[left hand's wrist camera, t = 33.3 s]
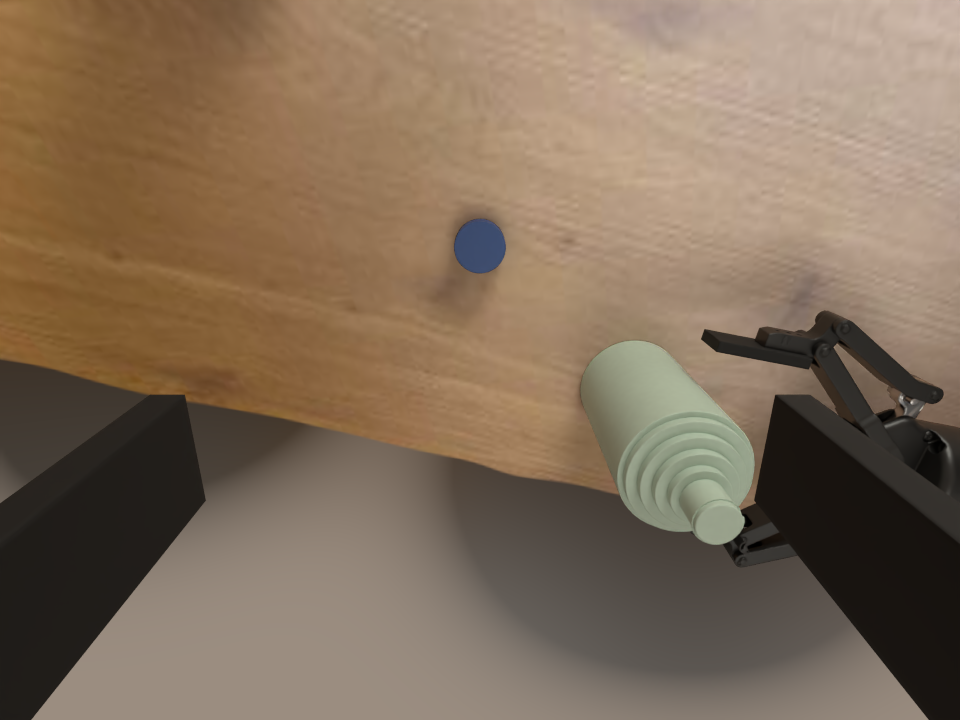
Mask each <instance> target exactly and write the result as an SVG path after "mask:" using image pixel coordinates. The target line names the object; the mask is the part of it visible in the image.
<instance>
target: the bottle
mask: <svg viewBox="0 0 960 720" xmlns="http://www.w3.org/2000/svg"><path fill="white" fill-rule="evenodd" d="M580 394H581V400H582V404H583V407H584V409H585V412H586V414H587V416H588V419H589V421H590V424H591V426H592V428H593V431H594V433H595V436H596V438H597V441H598V443H599V445H600V448H601V450H602V453H603V455H604V458H605V460H606V462H607V465H608V467H609V470H610V472H611V474H612V477H613V479H614V482H615V484H616V487H617V489H618V491H619V494H620V496H621V498H622V500H623V502H624V504H625V505H626V507H627V508H628V509H629V510H630V511H631V512H632V513H633V514H634V515H635V516H636V517H638V518H639V519H640V520H642V521H644V522H646V523H648V524H650V525H653V526H655V527H658V528H661V529H664V530H668V531H676V532H686V531H693V533H694V534H695V536H696V537H697V538H698V539H700V540H701V541H703V542H706V543H708V544H713V545H719V544H724V543H727V542H729V541H731V540H733V539H734V538H735V537H736V536H737V535H738V534H740V532H741V530H742V529H743V526H744V523H745V520H744V516H742V514H741V511H740V508H739V507H738V506H739V505H740V504H741V503H742V501H743V500H744V499H745V497H746V495H747V493H748V492H749V489H750V487H751V484H752V479H753V473H754V463H755V462H754V453H753V449H752V446H751V444H750V441H749V439H748V438H747V436H746V435H745V433H744V432H743V431H742V430H741V429H740V428H739V427H738V426H737V424H736V423H735V422H734V421H733V420H732V419H731V418H730V417H729V416H728V415H727V414H726V413H725V412H724V411H723V410H722V409H721V408H720V407H719V406H718V405H717V404H716V402H715V401H714V400H713V399H712V398H711V397H710V396H709V395H708V394H707V393H706V392H705V391H704V390H703V389H702V388H701V387H700V386H699V385H698V384H697V383H696V382H695V381H694V379H693V378H692V377H691V376H690V375H689V374H688V373H687V372H686V371H685V370H684V369H683V368H682V367H681V366H680V365H679V364H678V363H677V362H676V361H675V360H674V359H673V357H672V356H671V355H670V354H669V353H668V352H666V351H665V350H664V349H663V348H661V347H659V346H657V345H655V344H653V343H650V342H646V341H637V340H632V341H624V342H620V343H617V344H614V345H612V346H610V347H608V348H606V349H605V350H603V351H601V352H600V353H599V354H598V355H597V356H596V357H595V358H594V359H593V360H592V361H591V362H590V364H589V365H588V366H587V368H586V370H585V372H584V375H583V377H582V381H581V387H580Z"/></svg>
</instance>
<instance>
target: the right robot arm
mask: <svg viewBox="0 0 960 720" xmlns="http://www.w3.org/2000/svg"><path fill="white" fill-rule="evenodd" d="M815 323H816V324H815V325H814V326H813V327H812V328H811V329H810V330H809V331H807V332H806V331H803V330H798V331H796V332H792V331H787V330H781V329H777V328H772V327H762V328H759V330H758V333H757V336H756V338H755V339H753V338H747V337H742V336H737V335H732V334H727V333H722V332H716V331H711V330H706V329H704V332H703V335H702V338H701V340H703V341H704V342H705V343H706V344H708V345H709V346H710V347H711V348H712V349H714V350H715V351H716V352H720V353H725V354H731V355H736V356H741V357H746V358H752V359H757V360H762V361H767V362H773V363H778V364H783V365H788V366H794V367H799V368H804V369H809V368H810V367H811V369H812V370H813V372H814V373H815V375H816V376H817V378H818V380H819V381H820V383H821V384H822V386H823V387H824V389H825V391H826V392H827V394H828V395H829V397H830V398H831V400H832V402H833V403H834V405H835V406H836V408H835V410H836V411H837V413H838V414H839V416H840V417H841V418H843V419H844V420H845V421H847V422H848V423H849V424H851V425H852V426H854V427H855V428H856V429H858V430H859V431H860V432H862V433H863V434H865V435H866V436H867V437H869V438H870V439H872V440H873V441H874V442H876V443H877V444H878V445H880V446H881V447H883V448H884V449H885V450H887V451H888V452H889V453H891V454H892V455H894V456H895V457H896V458H898V459H899V460H901V461H902V462H903V463H905V464H906V465H907V466H909V467H910V468H912V469H913V470H914V471H916V472H917V473H918V474H920V475H921V476H923V477H924V478H925V479H927V480H928V481H930V482H931V483H932V484H934V485H935V486H936V487H938V488H939V489H941V490H942V491H943V492H945V493H946V494H947V495H949V496H950V497H952V498H953V499H954V500H956V501H957V502H959V503H960V428H958V427H954V426H948V425H943V424H938V423H933V422H927V421H922V420H917V419H916V417H917V416H918V414H919V412H920V411H921V409H922V408H923V406H924V405H925V403H929V404H934V403H937V402H939V401H940V400H941V399H942V397H943V390H942V389H940V388H938V387H936V386H934V385H932V384H930V383H928V382H926V381H924V380H922V379H920V378H918V377H916V376H914V375H912V374H910V373H908V372H907V371H906V370H905V369H904V368H903V367H902V366H901V365H900V364H898V363H897V362H896V361H895V360H894V359H893V358H892V357H891V356H890V355H888V354H887V353H886V352H885V351H884V350H883V349H882V348H881V347H880V346H878V345H877V344H876V343H875V342H874V341H873V340H872V339H871V338H870V337H869V336H867V335H866V334H865V333H864V332H863V331H862V330H861V329H860V328H859V327H857V326H856V325H855V324H854V323H853V322H851V321H850V320H847V319H845V318H843V317H841V316H839V315H836V314H834V313H832V312H829V311H822V312H820V313H819V314H818V315H817V316H816V319H815ZM837 343H838V344H839V345H840V346H841V347H842V348H843V349H844V350H846V351H847V352H848V353H849V354H850V355H851V356H852V357H853V358H855V359H856V360H857V361H858V362H859V363H860V364H861V365H863V366H864V367H865V368H866V369H867V370H868V371H869V372H871V373H872V374H873V375H874V376H875V377H876V378H878V379H879V380H880V381H882V382H884V383H886V384H887V385H889V387H888V389H887V391H888V392H890V397H891V398H892V399H893V400H894V401H895V402H896V408H895V409H888V410H885V411H882V412H880V413H877V414H874V413H873V411H872V410H871V408H870V407H869V405H868V403H867V402H866V400H865V398H864V397H863V395H862V394H861V392H860V390H859V389H858V387H857V385H856V384H855V382H854V380H853V379H852V377H851V376H850V374H849V372H848V371H847V369H846V367H845V366H844V364H843V363H842V361H841V359H840V358H839V356H838V354H837V353H836V351H835V350H834V348H833V347H834V346H835V345H836V344H837ZM740 511H741V514H742V516H744V520H745V523H744V526H743V527H747V528H745V529H744V528H743V529H742V530H741V532H740V534H738V535H737V536H736V537H735V538H734V539H733V540H731V541H729V542H727V543H724V544H723V545H724V547H725V549H726V550H727V552H728V553H729V555H730V557H731V558H732V560H733V561H734V563H735V564H736V566H738V567H747V566H751V565H756V564H760V563H765V562H770V561H774V560H779V559H784V558H788V557H793V556H797V554H796V552H795V551H794V550H793V549H792V547H791V546H790V545H789V543H788V542H787V541H786V540H785V538H784V537H783V536H782V535H781V533H780V532H779V531H778V530H777V528H776V527H775V526H774V525H773V523H772V522H771V521H770V520H769V518H768V517H767V516H766V515H765V513H764V512H763V511H762V510H761V508H760V507H759V506H758V505H757V503H756V504H753V505H751V506H749V507H747V508H744V509H742V510H740ZM690 532H691V533H692V534H694V533H693V531H690ZM694 535H695V534H694Z"/></svg>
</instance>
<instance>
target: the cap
mask: <svg viewBox="0 0 960 720" xmlns="http://www.w3.org/2000/svg"><path fill="white" fill-rule="evenodd" d="M505 250H506V244H505V240H504V236H503V234H502V232H501V230H500V229H499V227H498V226H497V225H496V224H494V223H493V222H491V221H489V220H485V219H475V220H471V221H469V222H467V223H466V224H464V225H463V226H462V227H461V228H460V230H459V232H458V234H457V236H456V239H455V244H454V251H455V255H456V258H457V260H458V261H459V263H460V264H461V265H462V266H463V267H464V268H465V269H467V270H469V271H471V272H474V273H486V272H489V271H491V270H493V269H495V268H496V267H497V266H498V265H499V264H500V263H501V261H502V260H503V258H504V255H505Z"/></svg>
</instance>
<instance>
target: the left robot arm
mask: <svg viewBox="0 0 960 720" xmlns="http://www.w3.org/2000/svg"><path fill="white" fill-rule="evenodd" d="M205 501H206V500H205V494H204V489H203V484H202V479H201V474H200V469H199V464H198V459H197V454H196V449H195V444H194V439H193V434H192V429H191V424H190V419H189V414H188V409H187V404H186V399H185V395H149V396H148V397H146V398H145V399H144V400H142V401H141V402H140V403H138V404H137V405H136V406H134V407H133V408H131V409H130V410H129V411H127V412H126V413H124V414H123V415H122V416H120V417H119V418H117V419H116V420H115V421H113V422H112V423H111V424H109V425H108V426H106V427H105V428H104V429H102V430H101V431H100V432H98V433H97V434H95V435H94V436H93V437H91V438H90V439H88V440H87V441H86V442H84V443H83V444H82V445H80V446H79V447H77V448H76V449H75V450H73V451H72V452H71V453H69V454H68V455H66V456H65V457H64V458H62V459H61V460H59V461H58V462H57V463H55V464H54V465H53V466H51V467H50V468H48V469H47V470H46V471H44V472H43V473H42V474H40V475H39V476H37V477H36V478H35V479H33V480H32V481H30V482H29V483H28V484H26V485H25V486H24V487H22V488H21V489H19V490H18V491H17V492H15V493H14V494H13V495H11V496H10V497H8V498H7V499H6V500H4V501H3V502H2V503H0V720H31V719H32V718H33V717H34V716H35V714H36V713H37V712H38V711H39V709H40V708H41V707H42V706H43V704H44V703H45V702H46V701H47V699H48V698H49V697H50V695H51V694H52V693H53V692H54V690H55V689H56V688H57V687H58V685H59V684H60V683H61V682H62V680H63V679H64V678H65V677H66V675H67V674H68V673H69V672H70V670H71V669H72V668H73V667H74V665H75V664H76V663H77V662H78V660H79V659H80V658H81V657H82V655H83V654H84V653H85V652H86V650H87V649H88V648H89V646H90V645H91V644H92V643H93V641H94V640H95V639H96V638H97V636H98V635H99V634H100V633H101V631H102V630H103V629H104V628H105V626H106V625H107V624H108V623H109V621H110V620H111V619H112V618H113V616H114V615H115V614H116V613H117V611H118V610H119V609H120V608H121V606H122V605H123V604H124V602H125V601H126V600H127V599H128V597H129V596H130V595H131V594H132V592H133V591H134V590H135V589H136V587H137V586H138V585H139V584H140V582H141V581H142V580H143V579H144V577H145V576H146V575H147V574H148V572H149V571H150V570H151V569H152V567H153V566H154V565H155V564H156V562H157V561H158V560H159V559H160V557H161V556H162V555H163V554H164V552H165V551H166V550H167V549H168V547H169V546H170V545H171V543H172V542H173V541H174V540H175V538H176V537H177V536H178V535H179V533H180V532H181V531H182V530H183V528H184V527H185V526H186V525H187V523H188V522H189V521H190V520H191V518H192V517H193V516H194V515H195V513H196V512H197V511H198V510H199V508H200V507H201V506H202V504H203V503H204V502H205ZM754 501H755V502H756V503H757V505H758V506H759V507H760V508H761V510H762V511H763V512H764V513H765V515H766V516H767V517H768V518H769V520H770V521H771V522H772V523H773V525H774V526H775V527H776V528H777V530H778V531H779V532H780V533H781V535H782V536H783V537H784V538H785V540H786V541H787V542H788V543H789V545H790V546H791V547H792V549H793V550H794V551H795V552H796V554H797V555H798V556H799V557H800V559H801V560H802V561H803V562H804V564H805V565H806V566H807V567H808V569H809V570H810V571H811V572H812V574H813V575H814V576H815V577H816V579H817V580H818V581H819V582H820V584H821V585H822V586H823V587H824V589H825V590H826V591H827V592H828V594H829V595H830V596H831V597H832V599H833V600H834V601H835V603H836V604H837V605H838V606H839V608H840V609H841V610H842V611H843V612H844V614H845V615H846V616H847V618H848V619H849V620H850V621H851V623H852V624H853V625H854V626H855V628H856V629H857V630H858V631H859V633H860V634H861V635H862V636H863V638H864V639H865V640H866V641H867V643H868V644H869V645H870V646H871V648H872V649H873V650H874V652H875V653H876V654H877V655H878V656H879V658H880V659H881V660H882V661H883V663H884V664H885V665H886V667H887V668H888V669H889V670H890V672H891V673H892V674H893V675H894V677H895V678H896V679H897V680H898V682H899V683H900V684H901V685H902V687H903V688H904V689H905V690H906V692H907V693H908V694H909V695H910V697H911V698H912V699H913V701H914V702H915V703H916V704H917V706H918V707H919V708H920V709H921V711H922V712H923V713H924V714H925V716H926V717H927V718H928V719H929V720H960V503H959V502H957V501H956V500H954V499H953V498H952V497H950V496H949V495H947V494H946V493H945V492H943V491H942V490H941V489H939V488H938V487H936V486H935V485H934V484H932V483H931V482H930V481H928V480H927V479H925V478H924V477H923V476H921V475H920V474H918V473H917V472H916V471H914V470H913V469H912V468H910V467H909V466H907V465H906V464H905V463H903V462H902V461H901V460H899V459H898V458H896V457H895V456H894V455H892V454H891V453H889V452H888V451H887V450H885V449H884V448H883V447H881V446H880V445H878V444H877V443H876V442H874V441H873V440H872V439H870V438H869V437H867V436H866V435H865V434H863V433H862V432H860V431H859V430H858V429H856V428H855V427H854V426H852V425H851V424H849V423H848V422H847V421H845V420H844V419H843V418H841V417H840V416H838V415H837V414H836V413H834V412H833V411H831V410H830V409H829V408H827V407H826V406H825V405H823V404H822V403H820V402H819V401H818V400H816V399H815V398H814V397H812V396H811V395H775V399H774V404H773V409H772V414H771V419H770V424H769V429H768V434H767V439H766V444H765V449H764V454H763V459H762V464H761V469H760V474H759V479H758V484H757V489H756V494H755V499H754Z"/></svg>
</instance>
